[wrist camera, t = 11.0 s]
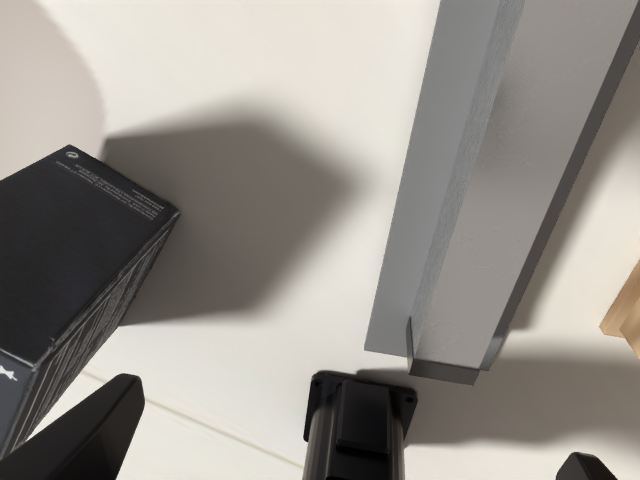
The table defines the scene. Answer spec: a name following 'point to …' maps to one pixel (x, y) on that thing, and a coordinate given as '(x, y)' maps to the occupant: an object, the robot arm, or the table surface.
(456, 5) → the mat
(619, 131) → the table surface
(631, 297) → the cradle stand
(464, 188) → the rail
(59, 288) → the small box
